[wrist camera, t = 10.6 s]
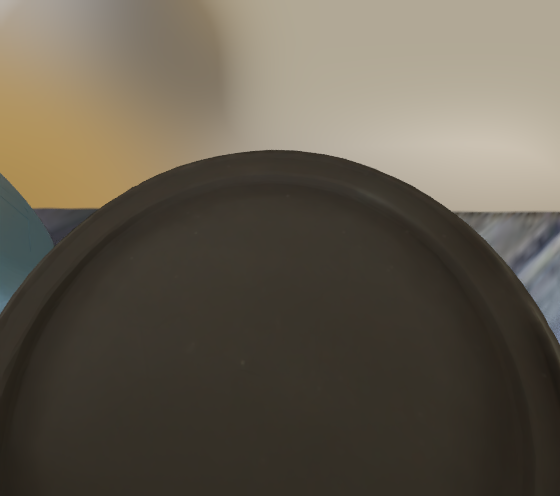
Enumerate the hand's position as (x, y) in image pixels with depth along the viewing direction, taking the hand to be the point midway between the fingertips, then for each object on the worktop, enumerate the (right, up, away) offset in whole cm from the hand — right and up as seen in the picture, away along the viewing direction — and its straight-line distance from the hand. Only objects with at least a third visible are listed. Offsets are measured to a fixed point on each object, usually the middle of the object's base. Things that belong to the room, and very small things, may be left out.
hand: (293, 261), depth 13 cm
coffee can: (0, -8, +5) cm, 10 cm away
